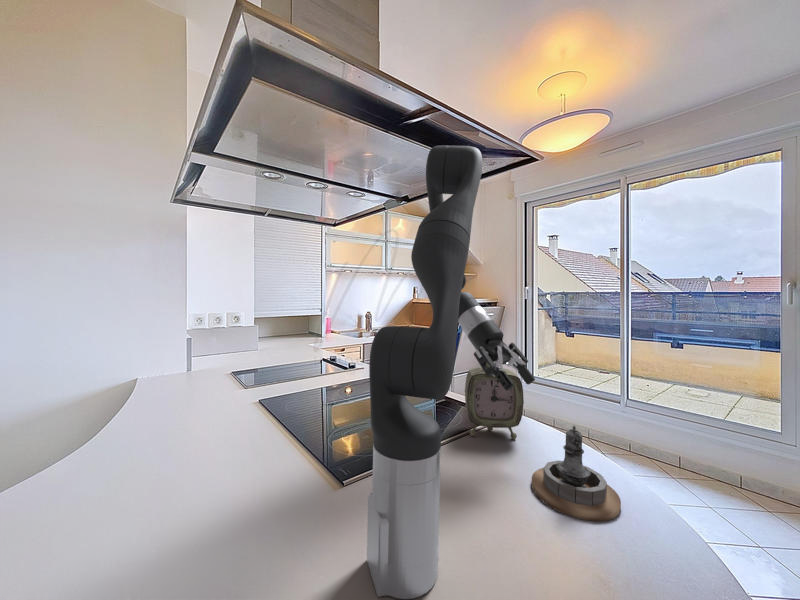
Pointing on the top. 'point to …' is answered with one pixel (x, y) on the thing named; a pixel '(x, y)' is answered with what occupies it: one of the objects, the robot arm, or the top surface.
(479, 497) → the top surface
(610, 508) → the socket stand
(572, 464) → the grey tall piece
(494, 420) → the tabletop clock
